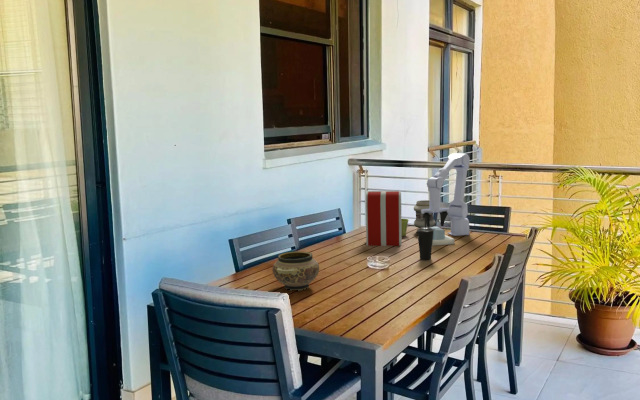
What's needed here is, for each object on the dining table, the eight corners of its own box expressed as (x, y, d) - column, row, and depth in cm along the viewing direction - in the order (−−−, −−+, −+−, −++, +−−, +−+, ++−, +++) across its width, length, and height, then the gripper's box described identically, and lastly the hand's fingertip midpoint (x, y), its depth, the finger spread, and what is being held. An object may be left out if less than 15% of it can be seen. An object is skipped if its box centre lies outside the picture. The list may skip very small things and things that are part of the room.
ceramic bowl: (295, 284, 244) (286, 249, 243) (334, 277, 236) (324, 241, 235) (266, 302, 221) (256, 263, 221) (307, 294, 214) (297, 254, 213)
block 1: (437, 237, 311) (437, 226, 311) (440, 239, 308) (440, 227, 307) (429, 238, 311) (429, 227, 310) (432, 239, 307) (432, 228, 306)
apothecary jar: (410, 232, 335) (409, 200, 333) (429, 230, 339) (429, 199, 336) (419, 235, 324) (419, 203, 321) (439, 234, 327) (439, 201, 325)
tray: (442, 238, 315) (442, 233, 314) (454, 243, 300) (454, 239, 300) (421, 239, 312) (421, 235, 312) (432, 245, 298) (432, 240, 297)
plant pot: (410, 236, 321) (409, 221, 320) (392, 237, 322) (392, 221, 321) (407, 233, 331) (407, 218, 330) (390, 234, 331) (390, 218, 330)
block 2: (441, 240, 306) (441, 228, 305) (444, 241, 302) (444, 229, 301) (434, 240, 305) (434, 229, 304) (437, 242, 301) (437, 230, 300)
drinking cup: (434, 261, 265) (433, 217, 262) (416, 261, 266) (416, 217, 264) (434, 257, 272) (434, 214, 270) (417, 257, 274) (417, 214, 271)
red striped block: (401, 245, 299) (400, 192, 296) (366, 245, 302) (365, 193, 299) (401, 239, 316) (401, 188, 312) (368, 239, 318) (367, 189, 315)
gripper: (424, 202, 301) (424, 228, 303) (451, 200, 304) (451, 226, 306) (419, 200, 308) (419, 226, 310) (445, 199, 311) (445, 224, 313)
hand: (435, 226), depth 308 cm, fingers open, 7 cm apart
